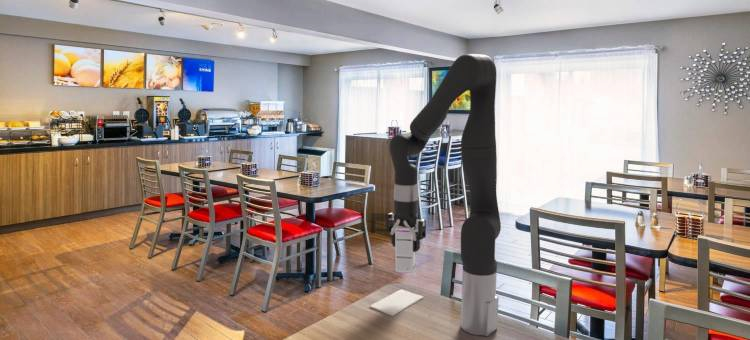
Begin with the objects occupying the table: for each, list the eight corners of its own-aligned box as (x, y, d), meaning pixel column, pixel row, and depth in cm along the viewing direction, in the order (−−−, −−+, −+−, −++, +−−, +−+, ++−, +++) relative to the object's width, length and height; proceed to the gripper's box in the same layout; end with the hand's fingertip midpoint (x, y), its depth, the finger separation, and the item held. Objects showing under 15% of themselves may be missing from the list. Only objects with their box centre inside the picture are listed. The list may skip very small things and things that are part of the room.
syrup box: (413, 273, 146) (414, 228, 144) (394, 272, 147) (395, 227, 145) (415, 266, 152) (416, 223, 149) (397, 265, 153) (397, 222, 150)
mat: (423, 298, 151) (423, 296, 151) (392, 316, 139) (392, 314, 139) (401, 290, 157) (401, 289, 157) (369, 307, 145) (369, 305, 145)
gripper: (431, 199, 144) (430, 250, 146) (395, 192, 153) (394, 241, 156) (417, 203, 138) (417, 256, 141) (380, 196, 147) (380, 246, 150)
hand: (405, 248), depth 148 cm, fingers closed on syrup box, 7 cm apart
